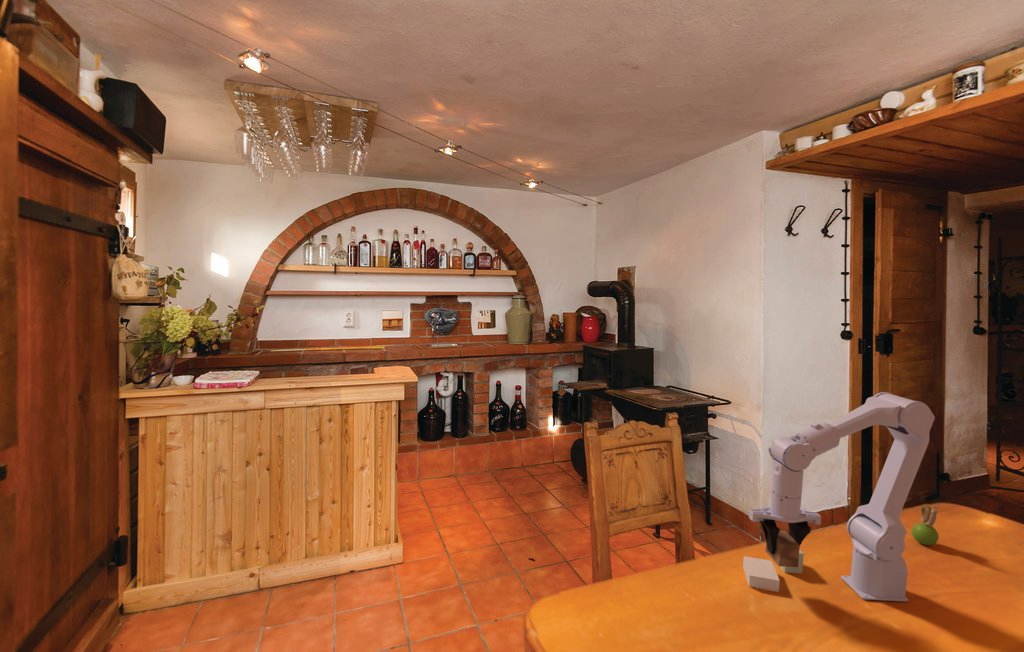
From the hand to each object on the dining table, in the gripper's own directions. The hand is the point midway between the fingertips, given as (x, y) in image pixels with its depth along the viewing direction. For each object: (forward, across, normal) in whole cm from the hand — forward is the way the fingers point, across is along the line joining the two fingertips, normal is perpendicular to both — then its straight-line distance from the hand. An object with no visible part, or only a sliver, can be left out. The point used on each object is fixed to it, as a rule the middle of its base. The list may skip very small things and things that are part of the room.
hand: (781, 552), depth 107 cm
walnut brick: (+1, 0, 0) cm, 1 cm away
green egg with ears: (+8, -49, -22) cm, 54 cm away
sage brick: (+9, -7, -9) cm, 14 cm away
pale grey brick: (+9, +2, -3) cm, 10 cm away
